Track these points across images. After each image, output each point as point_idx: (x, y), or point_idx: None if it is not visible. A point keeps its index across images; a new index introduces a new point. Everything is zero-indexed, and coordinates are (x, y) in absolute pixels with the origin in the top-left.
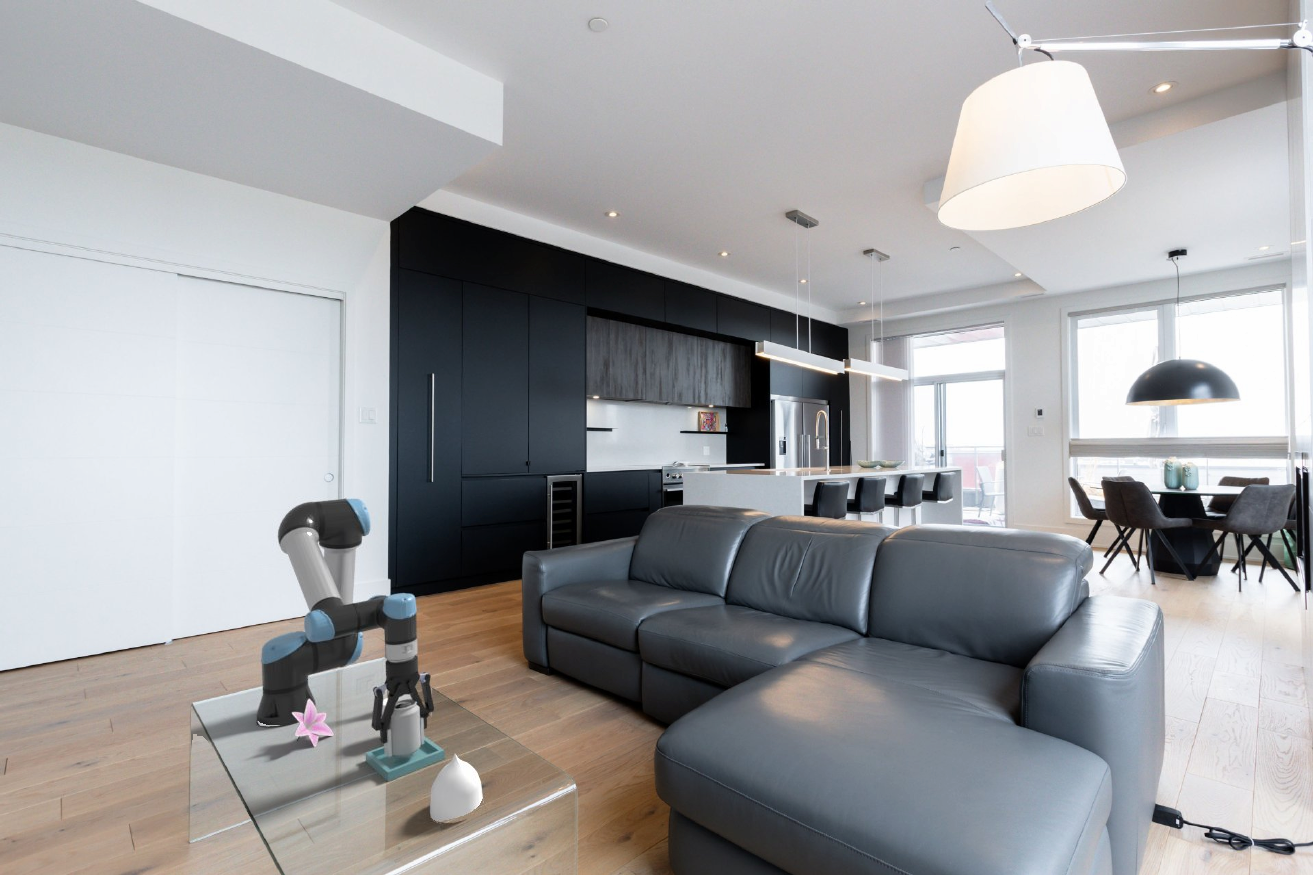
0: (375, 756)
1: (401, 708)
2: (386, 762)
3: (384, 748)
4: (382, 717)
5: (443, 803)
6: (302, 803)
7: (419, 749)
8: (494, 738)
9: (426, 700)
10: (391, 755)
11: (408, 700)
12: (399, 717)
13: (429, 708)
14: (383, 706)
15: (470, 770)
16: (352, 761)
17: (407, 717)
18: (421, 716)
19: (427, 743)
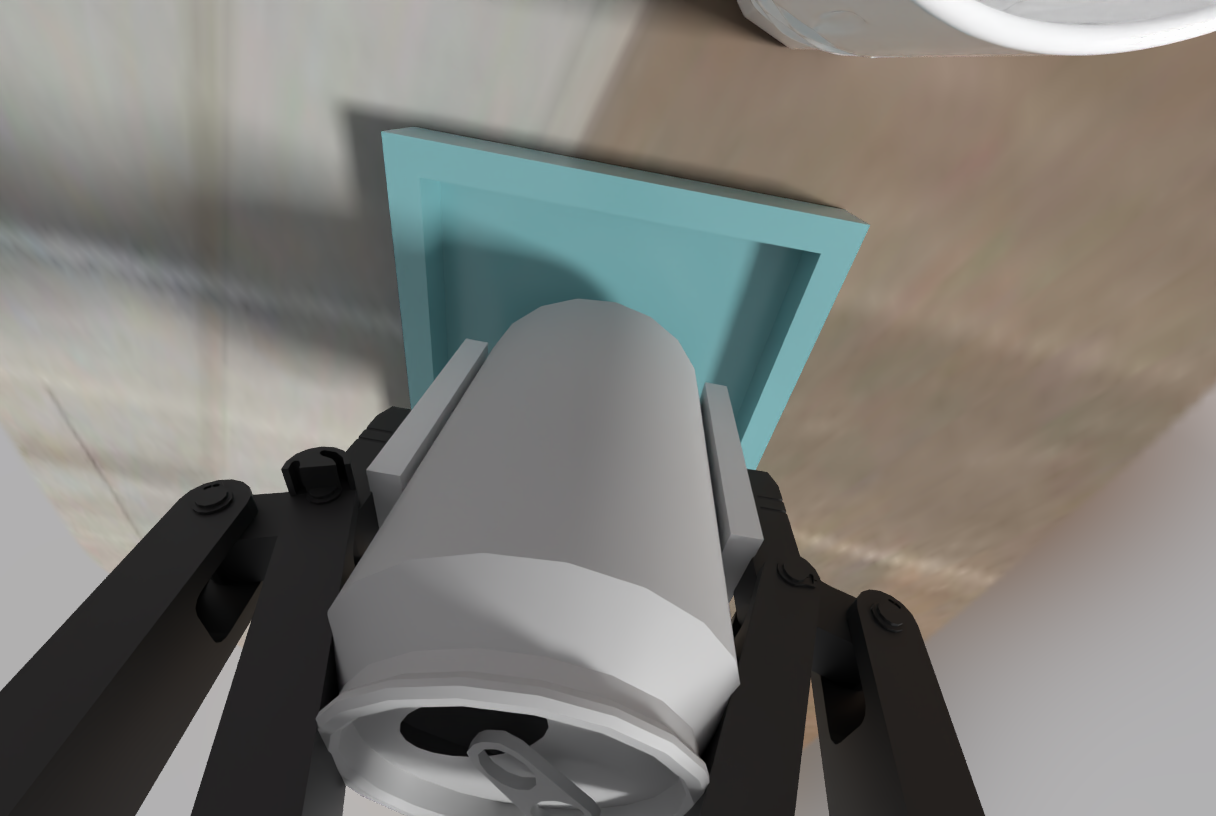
0: (425, 272)
1: (461, 769)
2: (493, 322)
3: (452, 358)
4: (269, 590)
5: None
6: (31, 285)
7: (712, 357)
8: (991, 552)
9: (847, 785)
10: None
11: (665, 749)
12: (425, 720)
13: (813, 694)
14: None
15: None
16: (326, 4)
17: (503, 726)
18: (740, 585)
19: (755, 401)
